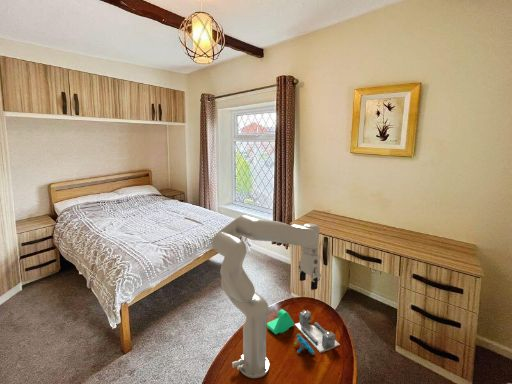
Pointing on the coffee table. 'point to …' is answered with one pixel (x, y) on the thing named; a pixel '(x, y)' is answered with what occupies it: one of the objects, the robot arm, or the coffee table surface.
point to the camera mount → (281, 322)
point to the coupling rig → (316, 333)
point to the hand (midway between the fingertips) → (308, 284)
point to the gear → (303, 344)
